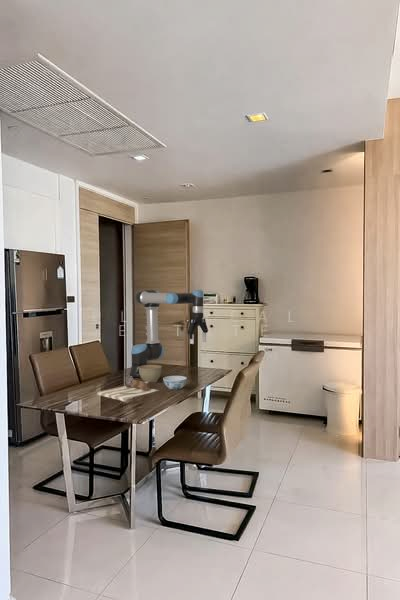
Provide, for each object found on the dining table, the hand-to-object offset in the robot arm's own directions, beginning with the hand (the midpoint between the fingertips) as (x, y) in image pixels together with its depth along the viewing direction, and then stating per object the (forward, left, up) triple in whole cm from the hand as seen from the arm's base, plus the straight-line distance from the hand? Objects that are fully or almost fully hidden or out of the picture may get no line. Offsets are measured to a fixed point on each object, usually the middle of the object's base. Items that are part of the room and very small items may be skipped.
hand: (198, 342), depth 286 cm
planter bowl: (-26, -21, -28) cm, 44 cm away
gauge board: (-13, -53, -27) cm, 61 cm away
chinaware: (+4, -28, -28) cm, 39 cm away
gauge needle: (-14, -44, -25) cm, 53 cm away
